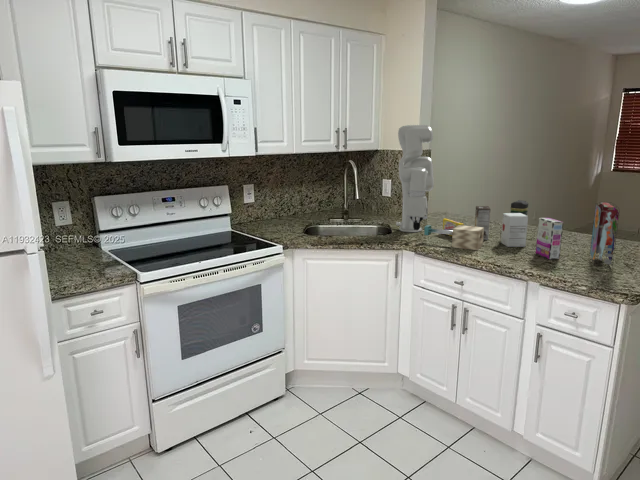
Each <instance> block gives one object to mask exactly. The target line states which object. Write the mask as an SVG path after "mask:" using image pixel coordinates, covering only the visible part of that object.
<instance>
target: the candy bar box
mask: <svg viewBox="0 0 640 480" xmlns="http://www.w3.org/2000/svg"><path fill="white" fill-rule="evenodd" d="M563 227H564V221H561V220H557V219H554V218H551V217H539V218H538V225H537V235H536V245H535V254H536V255H538V256H540V257H543V258H545V259H547V260H560V257H561V249H562V248H561V247H562V239H563V231H564V228H563Z"/></svg>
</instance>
